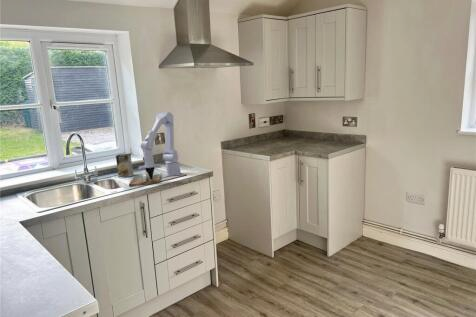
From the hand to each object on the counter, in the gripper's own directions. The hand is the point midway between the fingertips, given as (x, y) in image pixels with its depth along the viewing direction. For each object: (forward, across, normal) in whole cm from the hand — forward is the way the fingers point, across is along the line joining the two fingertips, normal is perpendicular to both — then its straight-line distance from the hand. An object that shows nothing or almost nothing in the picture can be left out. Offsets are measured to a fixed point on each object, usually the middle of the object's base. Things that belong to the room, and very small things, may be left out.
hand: (151, 179), depth 234 cm
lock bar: (+1, -4, +2) cm, 5 cm away
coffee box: (+3, -22, +27) cm, 35 cm away
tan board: (+2, -4, +7) cm, 9 cm away
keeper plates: (+1, -4, +10) cm, 11 cm away
